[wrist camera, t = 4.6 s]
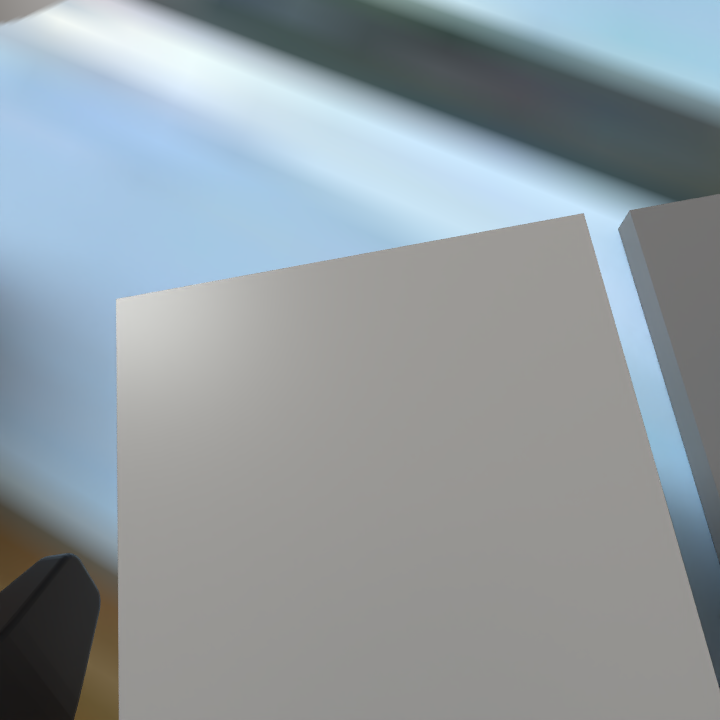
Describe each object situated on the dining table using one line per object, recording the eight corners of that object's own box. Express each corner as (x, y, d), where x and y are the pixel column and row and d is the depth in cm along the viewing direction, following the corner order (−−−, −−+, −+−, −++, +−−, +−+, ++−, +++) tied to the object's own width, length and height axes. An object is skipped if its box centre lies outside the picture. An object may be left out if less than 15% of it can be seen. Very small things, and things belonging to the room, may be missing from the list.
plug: (342, 721, 14) (122, 1182, 4) (311, 435, 16) (116, 298, 6) (551, 698, 13) (851, 1152, 4) (491, 407, 15) (583, 213, 6)
